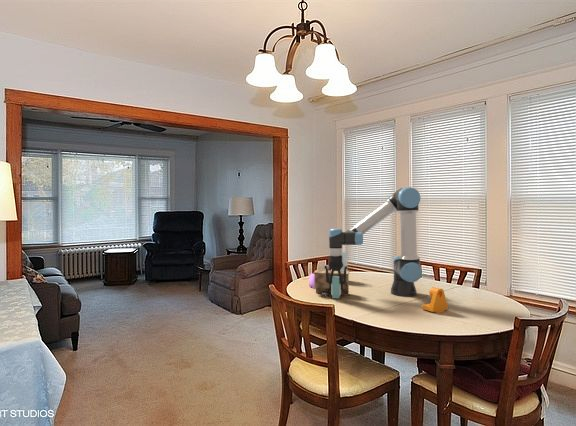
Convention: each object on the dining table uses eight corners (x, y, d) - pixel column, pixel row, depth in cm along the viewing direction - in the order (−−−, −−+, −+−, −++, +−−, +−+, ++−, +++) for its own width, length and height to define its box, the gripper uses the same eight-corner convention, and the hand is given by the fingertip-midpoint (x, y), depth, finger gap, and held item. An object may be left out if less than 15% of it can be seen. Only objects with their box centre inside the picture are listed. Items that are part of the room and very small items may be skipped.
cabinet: (349, 293, 230) (349, 271, 229) (348, 296, 222) (348, 273, 221) (315, 291, 235) (315, 270, 234) (313, 295, 226) (313, 272, 226)
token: (329, 294, 229) (329, 291, 229) (328, 296, 225) (328, 293, 225) (322, 294, 230) (322, 291, 230) (321, 295, 226) (321, 292, 226)
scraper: (340, 293, 227) (340, 274, 227) (339, 298, 216) (339, 277, 216) (334, 293, 228) (334, 274, 227) (332, 298, 217) (332, 277, 217)
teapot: (334, 289, 242) (334, 273, 242) (321, 291, 237) (321, 275, 236) (317, 284, 257) (317, 269, 257) (305, 286, 252) (305, 271, 251)
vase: (328, 280, 270) (328, 249, 269) (342, 279, 273) (342, 248, 272) (335, 283, 259) (335, 251, 258) (350, 282, 262) (350, 250, 262)
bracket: (436, 307, 199) (436, 284, 198) (447, 310, 192) (447, 287, 192) (421, 310, 194) (421, 287, 194) (432, 313, 187) (432, 290, 187)
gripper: (350, 254, 220) (351, 293, 220) (322, 253, 223) (322, 292, 224) (350, 256, 212) (350, 296, 213) (320, 255, 216) (320, 295, 217)
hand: (336, 294), depth 218 cm, fingers closed on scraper, 4 cm apart
